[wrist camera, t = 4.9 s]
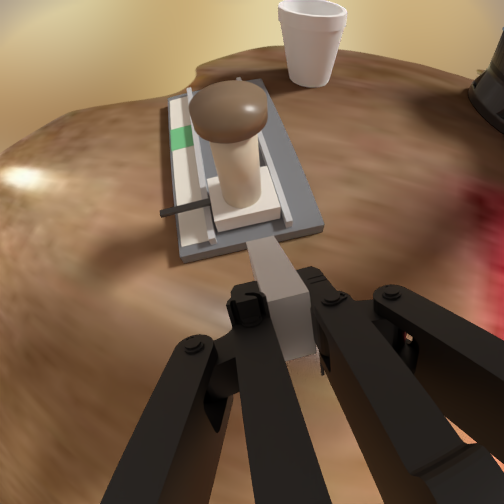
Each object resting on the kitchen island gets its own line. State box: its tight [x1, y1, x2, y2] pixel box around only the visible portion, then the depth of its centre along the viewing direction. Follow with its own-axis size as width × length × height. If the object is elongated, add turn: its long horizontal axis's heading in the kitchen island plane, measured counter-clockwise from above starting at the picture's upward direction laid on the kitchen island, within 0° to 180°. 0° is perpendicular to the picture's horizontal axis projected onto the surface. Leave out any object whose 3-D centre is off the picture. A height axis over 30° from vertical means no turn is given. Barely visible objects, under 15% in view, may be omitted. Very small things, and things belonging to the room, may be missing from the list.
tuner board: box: [168, 77, 325, 263], centre depth 34 cm, size 14×26×3 cm, turn 12°
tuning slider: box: [160, 80, 281, 232], centre depth 24 cm, size 11×5×13 cm, turn 102°
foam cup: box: [278, 0, 347, 88], centre depth 35 cm, size 10×9×13 cm
